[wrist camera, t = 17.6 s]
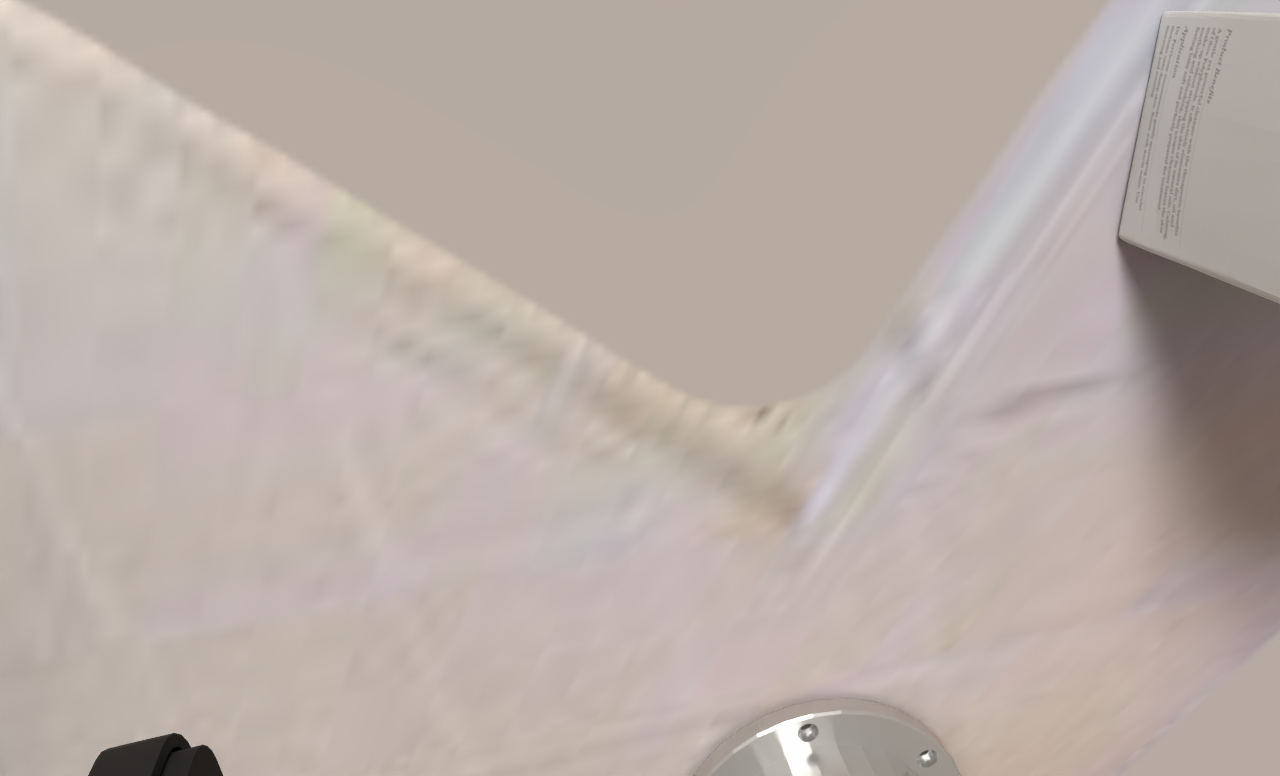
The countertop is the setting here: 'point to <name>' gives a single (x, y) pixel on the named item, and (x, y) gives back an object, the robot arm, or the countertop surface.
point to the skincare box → (1211, 149)
